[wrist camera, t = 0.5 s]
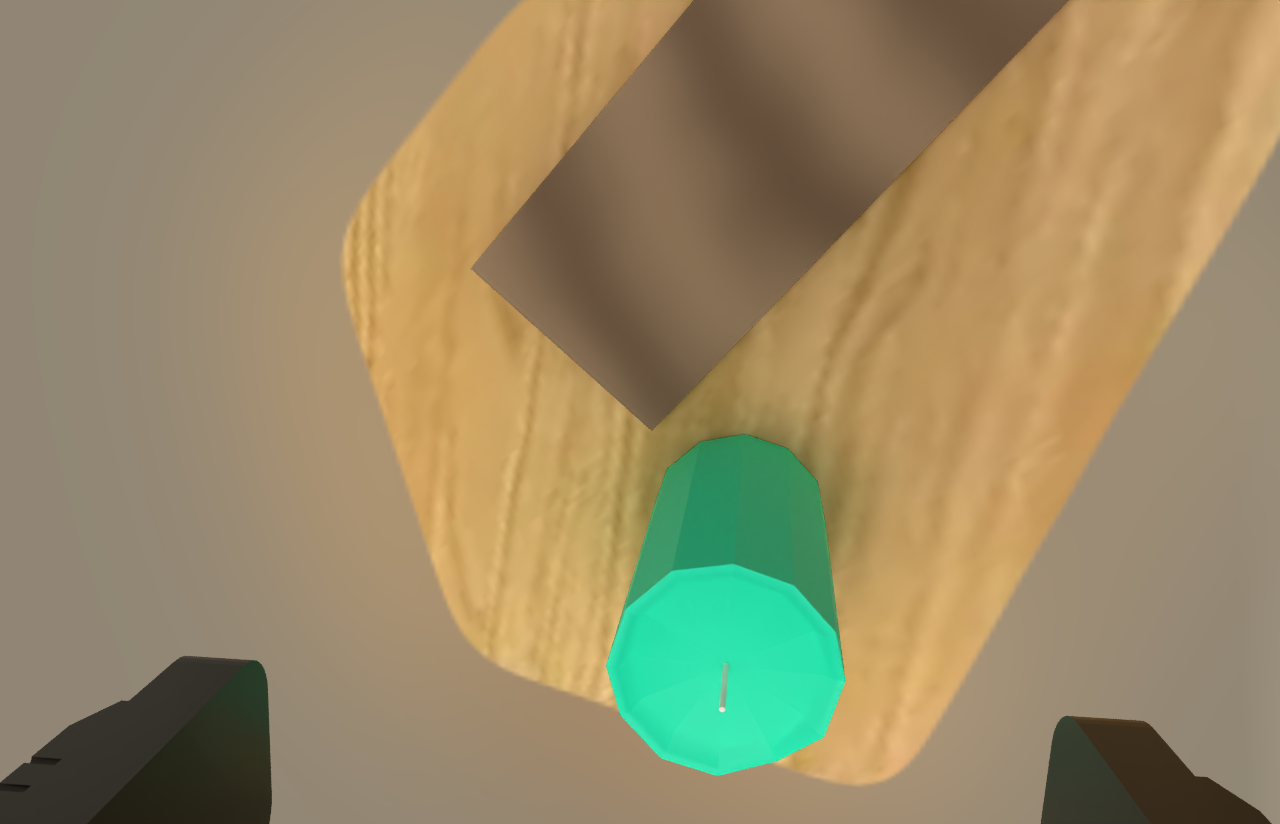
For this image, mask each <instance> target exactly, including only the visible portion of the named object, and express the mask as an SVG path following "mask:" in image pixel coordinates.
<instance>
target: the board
mask: <svg viewBox="0 0 1280 824" xmlns="http://www.w3.org/2000/svg"><path fill="white" fill-rule="evenodd" d="M1067 1H1068V0H694V1H693V2H692V3H691V4H690V6H689V7H688V8H687V9H686V10H685V12H684V13H683V14H682V15H681V16H680V18H679V19H678V20H677V21H676V22H675V24H674V25H673V26H672V27H671V28H670V30H669V31H668V32H667V33H666V34H665V36H664V37H663V38H662V39H661V40H660V42H659V43H658V44H657V45H656V46H655V48H654V49H653V50H652V51H651V52H650V54H649V55H648V56H647V57H646V58H645V60H644V61H643V62H642V63H641V64H640V66H639V67H638V68H637V69H636V70H635V72H634V73H633V74H632V75H631V76H630V78H629V79H628V80H627V81H626V82H625V84H624V85H623V86H622V87H621V88H620V90H619V91H618V92H617V93H616V95H615V96H614V97H613V98H612V99H611V101H610V102H609V103H608V104H607V105H606V107H605V108H604V109H603V110H602V111H601V113H600V114H599V115H598V116H597V117H596V119H595V120H594V121H593V122H592V123H591V125H590V126H589V127H588V128H587V129H586V131H585V132H584V133H583V134H582V135H581V137H580V138H579V139H578V140H577V141H576V143H575V144H574V145H573V146H572V147H571V149H570V150H569V151H568V152H567V153H566V155H565V156H564V157H563V158H562V159H561V161H560V162H559V163H558V164H557V165H556V167H555V168H554V169H553V170H552V171H551V173H550V174H549V175H548V176H547V177H546V179H545V180H544V181H543V182H542V183H541V185H540V186H539V187H538V188H537V189H536V191H535V192H534V193H533V194H532V195H531V197H530V198H529V199H528V200H527V201H526V203H525V204H524V205H523V206H522V208H521V209H520V210H519V211H518V212H517V214H516V215H515V216H514V217H513V218H512V220H511V221H510V222H509V223H508V224H507V226H506V227H505V228H504V229H503V230H502V232H501V233H500V234H499V235H498V236H497V238H496V239H495V240H494V241H493V242H492V244H491V245H490V246H489V247H488V248H487V250H486V251H485V252H484V253H483V254H482V256H481V257H480V258H479V259H478V260H477V262H476V263H475V264H474V265H473V266H472V268H471V269H472V270H473V271H474V272H475V273H476V274H477V275H478V276H480V277H481V278H482V279H483V280H484V281H485V282H486V283H487V284H489V285H490V286H491V287H492V288H493V289H494V290H495V291H496V292H497V293H499V294H500V295H501V296H502V297H503V298H504V299H505V300H506V301H508V302H509V303H510V304H511V305H512V306H513V307H514V308H515V309H516V310H518V311H519V312H520V313H521V314H522V315H523V316H524V317H525V318H526V319H528V320H529V321H530V322H531V323H532V324H533V325H534V326H535V327H537V328H538V329H539V330H540V331H541V332H542V333H543V334H544V335H545V336H547V337H548V338H549V339H550V340H551V341H552V342H553V343H554V344H556V345H557V346H558V347H559V348H560V349H561V350H562V351H563V352H564V353H566V354H567V355H568V356H569V357H570V358H571V359H572V360H573V361H574V362H576V363H577V364H578V365H579V366H580V367H581V368H582V369H583V370H585V371H586V372H587V373H588V374H589V375H590V376H591V377H592V378H593V379H595V380H596V381H597V382H598V383H599V384H600V385H601V386H602V387H604V388H605V389H606V390H607V391H608V392H609V393H610V394H611V395H612V396H614V397H615V398H616V399H617V400H618V401H619V402H620V403H621V404H622V405H624V406H625V407H626V408H627V409H628V410H629V411H630V412H631V413H633V414H634V415H635V416H636V417H637V418H638V419H639V420H640V421H641V422H643V423H644V424H645V425H646V426H647V427H648V428H649V429H650V430H653V429H654V428H655V427H656V426H657V425H658V424H659V423H660V422H661V421H662V420H663V419H664V418H665V417H666V416H667V415H668V414H669V413H670V412H671V411H672V409H673V408H674V407H675V406H676V405H677V404H678V403H679V402H680V401H681V400H682V399H683V398H684V397H685V396H686V395H687V394H688V393H689V392H690V391H691V390H692V389H693V388H694V387H695V386H696V385H697V384H698V383H699V382H700V381H701V380H702V378H703V377H704V376H705V375H706V374H707V373H708V372H709V371H710V370H711V369H712V368H713V367H714V366H715V365H716V364H717V363H718V362H719V361H720V360H721V359H722V358H723V357H724V356H725V355H726V354H727V353H728V352H729V351H730V350H731V348H732V347H733V346H734V345H735V344H736V343H737V342H738V341H739V340H740V339H741V338H742V337H743V336H744V335H745V334H746V333H747V332H748V331H749V330H750V329H751V328H752V327H753V326H754V325H755V324H756V323H757V322H758V321H759V320H760V319H761V317H762V316H763V315H764V314H765V313H766V312H767V311H768V310H769V309H770V308H771V307H772V306H773V305H774V304H775V303H776V302H777V301H778V300H779V299H780V298H781V297H782V296H783V295H784V294H785V293H786V292H787V291H788V290H789V289H790V288H791V286H792V285H793V284H794V283H795V282H796V281H797V280H798V279H799V278H800V277H801V276H802V275H803V274H804V273H805V272H806V271H807V270H808V269H809V268H810V267H811V266H812V265H813V264H814V263H815V262H816V261H817V260H818V259H819V258H820V256H821V255H822V254H823V253H824V252H825V251H826V250H827V249H828V248H829V247H830V246H831V245H832V244H833V243H834V242H835V241H836V240H837V239H838V238H839V237H840V236H841V235H842V234H843V233H844V232H845V231H846V230H847V229H848V228H849V227H850V225H851V224H852V223H853V222H854V221H855V220H856V219H857V218H858V217H859V216H860V215H861V214H862V213H863V212H864V211H865V210H866V209H867V208H868V207H869V206H870V205H871V204H872V203H873V202H874V201H875V200H876V199H877V198H878V197H879V195H880V194H881V193H882V192H883V191H884V190H885V189H886V188H887V187H888V186H889V185H890V184H891V183H892V182H893V181H894V180H895V179H896V178H897V177H898V176H899V175H900V174H901V173H902V172H903V171H904V170H905V169H906V168H907V167H908V166H909V164H910V163H911V162H912V161H913V160H914V159H915V158H916V157H917V156H918V155H919V154H920V153H921V152H922V151H923V150H924V149H925V148H926V147H927V146H928V145H929V144H930V143H931V142H932V141H933V140H934V139H935V138H936V137H937V136H938V135H939V133H940V132H941V131H942V130H943V129H944V128H945V127H946V126H947V125H948V124H949V123H950V122H951V121H952V120H953V119H954V118H955V117H956V116H957V115H958V114H959V113H960V112H961V111H962V110H963V109H964V108H965V107H966V106H967V105H968V103H969V102H970V101H971V100H972V99H973V98H974V97H975V96H976V95H977V94H978V93H979V92H980V91H981V90H982V89H983V88H984V87H985V86H986V85H987V84H988V83H989V82H990V81H991V80H992V79H993V78H994V77H995V76H996V75H997V74H998V72H999V71H1000V70H1001V69H1002V68H1003V67H1004V66H1005V65H1006V64H1007V63H1008V62H1009V61H1010V60H1011V59H1012V58H1013V57H1014V56H1015V55H1016V54H1017V53H1018V52H1019V51H1020V50H1021V49H1022V48H1023V47H1024V46H1025V45H1026V44H1027V42H1028V41H1029V40H1030V39H1031V38H1032V37H1033V36H1034V35H1035V34H1036V33H1037V32H1038V31H1039V30H1040V29H1041V28H1042V27H1043V26H1044V25H1045V24H1046V23H1047V22H1048V21H1049V20H1050V19H1051V18H1052V17H1053V16H1054V15H1055V14H1056V13H1057V11H1058V10H1059V9H1060V8H1061V7H1062V6H1063V5H1064V4H1065V3H1066V2H1067Z"/></svg>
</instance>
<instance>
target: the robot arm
mask: <svg viewBox="0 0 1280 824" xmlns="http://www.w3.org/2000/svg"><path fill="white" fill-rule="evenodd" d="M271 805H272V790H271V762H270V735H269V708H268V685H267V678H266V673H265V670H264V668H263V666H262V665H261V664H260V663H259V662H258V661H254V660H240V659H225V658H210V657H195V656H194V657H193V656H183V657H180V658H179V659H177V660H176V661H175V662H174V663H172V664H171V665H170V666H169V667H168V668H166V669H165V670H164V671H163V672H162V673H161V674H160V675H158V676H157V677H156V678H155V679H154V680H153V681H152V682H150V683H149V684H148V685H147V686H146V687H145V688H143V689H142V690H141V691H140V692H139V693H138V694H137V695H135V696H134V697H133V698H132V699H131V700H129V701H120V702H118V703H116V704H114V705H112V706H109V707H107V708H105V709H103V710H101V711H99V712H97V713H95V714H93V715H91V716H88V717H86V718H84V719H83V720H80V721H78V722H76V723H74V724H72V725H70V726H68V727H67V728H66V729H65V730H64V731H62V732H61V733H60V734H59V735H57V736H56V737H55V738H54V739H53V740H51V741H50V742H49V743H48V744H46V745H45V746H44V747H43V748H42V749H40V750H39V751H38V752H37V753H36V754H34V755H33V756H32V760H31V762H30V763H23V764H22V765H21V766H20V767H19V768H17V769H16V770H15V771H14V772H12V773H11V774H10V775H9V776H8V777H6V778H5V779H4V780H3V781H2V782H0V824H269V822H270V814H271ZM1041 824H1271V823H1270V822H1269V820H1268V819H1267V818H1266V817H1265V816H1264V815H1263V814H1262V813H1261V812H1260V811H1259V810H1257V809H1256V808H1254V807H1252V806H1251V805H1250V804H1248V803H1246V802H1245V801H1243V800H1242V799H1240V798H1239V797H1237V796H1236V795H1234V794H1232V793H1231V792H1229V791H1228V790H1226V789H1225V788H1223V787H1222V786H1220V785H1219V784H1217V783H1216V782H1214V781H1212V780H1211V779H1209V778H1208V777H1196V776H1194V775H1193V773H1192V772H1191V771H1190V770H1189V769H1188V768H1187V767H1186V765H1185V764H1184V763H1183V762H1182V761H1181V760H1180V759H1179V757H1178V756H1177V755H1176V754H1175V753H1174V752H1173V750H1171V748H1170V747H1169V746H1168V745H1167V744H1166V742H1165V741H1164V740H1163V739H1162V738H1161V737H1160V736H1159V734H1158V733H1157V732H1156V731H1155V730H1154V729H1153V728H1152V727H1151V726H1150V725H1149V724H1148V723H1146V722H1144V721H1136V720H1121V719H1105V718H1090V717H1075V716H1065V717H1063V718H1062V719H1060V721H1059V722H1058V724H1057V726H1056V728H1055V731H1054V735H1053V740H1052V746H1051V753H1050V760H1049V767H1048V775H1047V782H1046V790H1045V797H1044V804H1043V811H1042V819H1041Z"/></svg>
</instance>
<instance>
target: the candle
mask: <svg viewBox="0 0 1280 824" xmlns="http://www.w3.org/2000/svg"><path fill="white" fill-rule="evenodd" d="M606 668H607V671H608V674H609V678H610V681H611V685H612V688H613V691H614V695H615V698H616V702H617V705H618V708H619V712H620V715H621V716H622V717H623V718H624V720H625V721H626V722H627V723H628V724H629V725H630V726H631V727H632V728H633V729H634V730H635V731H636V732H637V733H638V735H639V736H640V737H641V738H642V739H643V740H644V741H645V742H646V743H647V744H648V745H649V746H650V747H651V748H652V749H653V751H654V752H655V753H656V754H657V755H658V756H659V757H660V758H662V759H665V760H669V761H672V762H675V763H678V764H681V765H684V766H687V767H691V768H694V769H698V770H700V771H703V772H707V773H710V774H713V775H716V776H719V775H723V774H727V773H731V772H735V771H739V770H743V769H747V768H751V767H755V766H759V765H763V764H768V763H772V762H776V761H778V760H780V759H782V758H784V757H786V756H788V755H790V754H792V753H794V752H796V751H798V750H800V749H802V748H804V747H806V746H808V745H810V744H812V743H814V742H815V741H817V740H819V739H821V738H823V737H824V736H825V733H826V731H827V728H828V725H829V723H830V720H831V718H832V715H833V712H834V710H835V707H836V705H837V702H838V699H839V697H840V694H841V692H842V689H843V686H844V684H845V674H844V666H843V658H842V650H841V642H840V634H839V627H838V619H837V611H836V603H835V595H834V587H833V579H832V572H831V564H830V556H829V548H828V540H827V532H826V524H825V519H824V513H823V508H822V502H821V497H820V492H819V486H818V481H817V480H816V479H815V478H814V477H813V476H812V475H811V474H810V473H809V471H808V470H807V469H806V468H805V467H804V466H803V465H802V464H801V463H800V461H799V460H798V459H797V458H796V457H795V456H794V455H793V454H792V453H791V451H790V450H789V449H787V448H784V447H781V446H779V445H776V444H773V443H770V442H767V441H764V440H761V439H758V438H755V437H752V436H749V435H746V434H743V435H737V436H731V437H725V438H719V439H713V440H708V441H702V442H699V443H698V444H697V445H696V446H695V447H693V448H692V449H691V450H690V451H689V452H687V453H686V454H685V455H684V456H682V457H681V458H680V459H679V460H678V461H676V462H675V463H674V464H673V465H671V466H670V467H669V468H668V469H667V471H666V474H665V477H664V480H663V482H662V485H661V488H660V491H659V494H658V497H657V500H656V503H655V506H654V509H653V512H652V515H651V519H650V522H649V525H648V528H647V532H646V535H645V538H644V542H643V545H642V548H641V552H640V555H639V558H638V562H637V565H636V568H635V572H634V575H633V578H632V582H631V585H630V588H629V591H628V595H627V598H626V601H625V605H624V608H623V611H622V615H621V618H620V621H619V625H618V628H617V631H616V635H615V638H614V641H613V644H612V648H611V651H610V654H609V658H608V661H607V664H606Z"/></svg>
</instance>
